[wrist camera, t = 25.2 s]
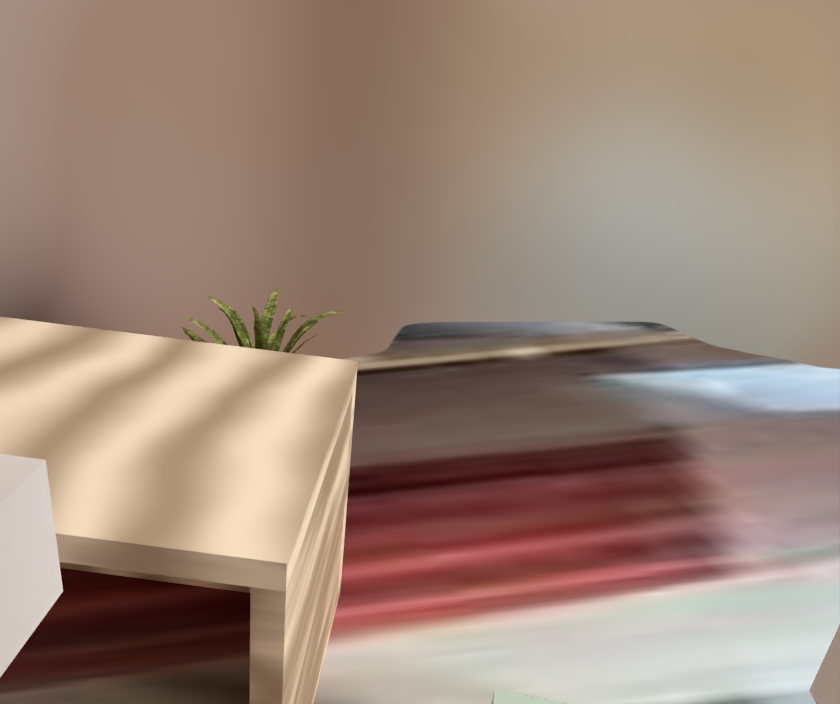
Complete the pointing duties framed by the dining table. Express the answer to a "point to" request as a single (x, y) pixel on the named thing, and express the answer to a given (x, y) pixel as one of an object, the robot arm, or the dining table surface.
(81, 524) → the cubby box
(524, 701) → the tall block
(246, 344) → the house plant
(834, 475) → the dining table surface
